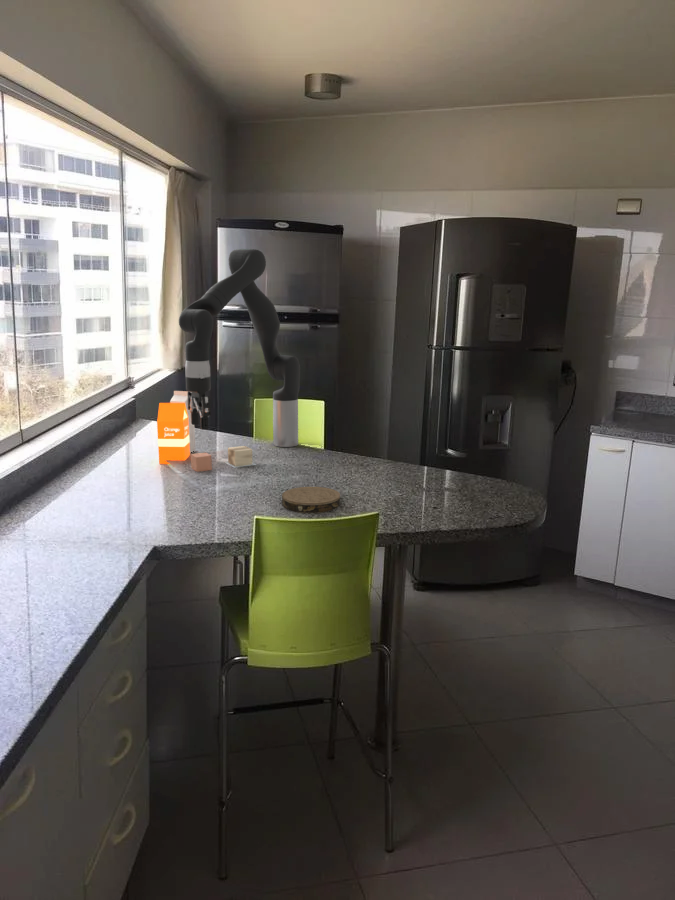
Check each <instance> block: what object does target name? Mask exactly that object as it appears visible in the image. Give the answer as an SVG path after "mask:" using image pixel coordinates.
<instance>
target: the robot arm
mask: <svg viewBox="0 0 675 900" xmlns="http://www.w3.org/2000/svg"><path fill="white" fill-rule="evenodd" d="M266 266H267V260H266V257H265V254H264V253H263V252H262V251H261V250H259V249H255V248H237V249H234V250H231V251H230V253H229V255H228V268H229V271H230V273H231V275H229V276H227V277H225V278H224V279H221V280H220V281H217V282H216V283H214V284H213V285H212V286H211V287H210V288H209V289H208V290H207V291H206V292H205V293H204V294H203V295H202V296H201V298H199V299H198V300H195V301H194V302H192V303H190V304H189V305H188V306H186V307H185V308H184V309H183V310H182V311H181V312H180V314H179V318H178V325H179V327H180V329H181V330H182V331H184V332H186V333H194V338H193V340H189V341H187V342H186V343H185V348H184V349H185V368H184V369H185V390H186V391H188V393H187V394H188V410H190V413H191V424H192V425H194V426H195V425H199V424H200V429H201V430H208V429H209V418H210V417H211V416H212V407H211V406H212V405H211V396H207V394H206V392H209V391H211V390H212V389H211V388H212V385H211V365H210V351H209V350H210V343H211V339H212V334H213V329H214V323H215V322H214V317H216V316H218V315H219V313H221V312H222V310H223V309H225V307H226V306H228V304H229V303H230V301H232V299H233V298H234V297H236V296H237V295H238V294H239V293H240V294H241V297H242V299H243V302H244V303H245V306H246V309H247V311H248V314H249V318H250V321H251V323H252V326H253V328H254V331H255V333H256V336H257V339H258V341H259V344H260V348H261V350H262V351H261V352H262V355H263V359H264V363H265V366H266V369H267V372H268V375H269V377H270V378H272V380H275V381H282V382H283V387H281V388H279V389H276V390H273V392H272V431H273V434H272V435H273V437H272V438H273V439H272V440H273V441H272V442H273V446H275V447H281V448H292V447H296V446H298V445H299V392H300V386H301V385H300V382H301V381H300V379H301V365H300V361H299V358H298V357H297V356H295V355H284V354H283V355H282V354H280V353H279V350H278V347H277V338H278V336H279V331H280V326H281V322H280V318H279V315H278V312H277V309H276V307H275V305H274V304H273V302H272V301H271V300H270V299H269V297H268V296H267V295H266V294H265V293H264V292H263V291H262V290H261V289H260V288H259V287H258V286H257V284H256V282H255V281H256V280H257V279H259V278H260V277H261V276H262V275H263V274H264V272H265V271H266ZM199 416H200V420H199ZM199 421H200V422H199Z"/></svg>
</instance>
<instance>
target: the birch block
mask: <svg viewBox="0 0 675 900" xmlns="http://www.w3.org/2000/svg"><path fill="white" fill-rule="evenodd" d="M227 460H228V461H227V462H228V463H230V464H232V465H233V466H235V467H236V466H243V465H251V464H253V463H254V462H253V449H252V448H251V447H248V446H247V445H240V446H232V447H231V446H230V447H227ZM252 462H253V463H252ZM251 466H252V465H251ZM243 467H244V466H243ZM236 468H237V467H236Z"/></svg>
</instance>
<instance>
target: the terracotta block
mask: <svg viewBox="0 0 675 900" xmlns="http://www.w3.org/2000/svg"><path fill="white" fill-rule="evenodd" d="M212 463H213V462H212V454H210V453H208V452H198V453H196V452H195V453H190V466H191V467H190V468H191V469H192V470H193V471H195V472H197V473H199V472H206V471H212V469H213V467H212V466H213V464H212Z"/></svg>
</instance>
